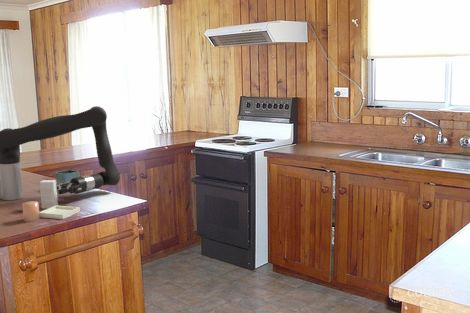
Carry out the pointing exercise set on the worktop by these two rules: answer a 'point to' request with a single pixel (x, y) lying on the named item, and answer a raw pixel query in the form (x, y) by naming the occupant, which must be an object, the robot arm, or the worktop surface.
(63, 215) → the tray
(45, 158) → the worktop surface
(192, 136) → the worktop surface
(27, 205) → the orange-pink rounded cylinder
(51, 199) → the skincare box
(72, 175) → the flower pot
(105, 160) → the robot arm
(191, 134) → the worktop surface
